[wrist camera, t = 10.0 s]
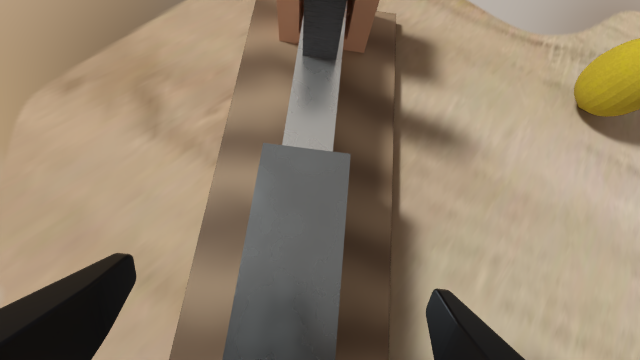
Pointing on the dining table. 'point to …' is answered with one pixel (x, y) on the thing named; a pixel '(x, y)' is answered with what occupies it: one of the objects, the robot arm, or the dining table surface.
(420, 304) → the dining table surface
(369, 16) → the socket block
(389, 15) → the base board
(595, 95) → the lemon
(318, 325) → the sleeve
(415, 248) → the dining table surface
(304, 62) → the tube
